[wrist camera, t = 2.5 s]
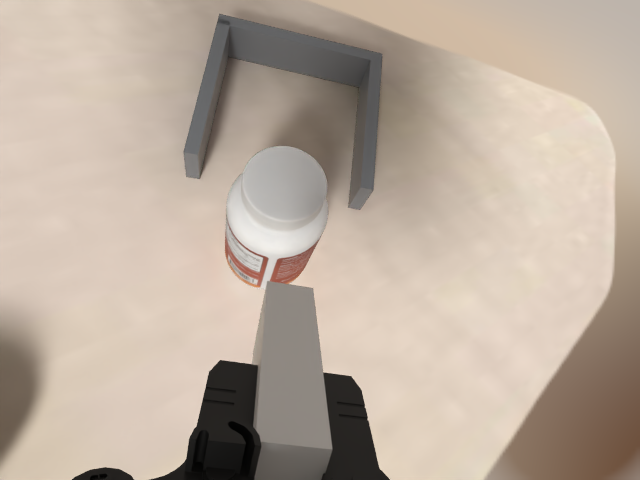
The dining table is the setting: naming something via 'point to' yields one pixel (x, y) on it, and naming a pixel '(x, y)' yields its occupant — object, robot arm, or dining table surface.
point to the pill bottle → (275, 216)
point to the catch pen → (301, 58)
